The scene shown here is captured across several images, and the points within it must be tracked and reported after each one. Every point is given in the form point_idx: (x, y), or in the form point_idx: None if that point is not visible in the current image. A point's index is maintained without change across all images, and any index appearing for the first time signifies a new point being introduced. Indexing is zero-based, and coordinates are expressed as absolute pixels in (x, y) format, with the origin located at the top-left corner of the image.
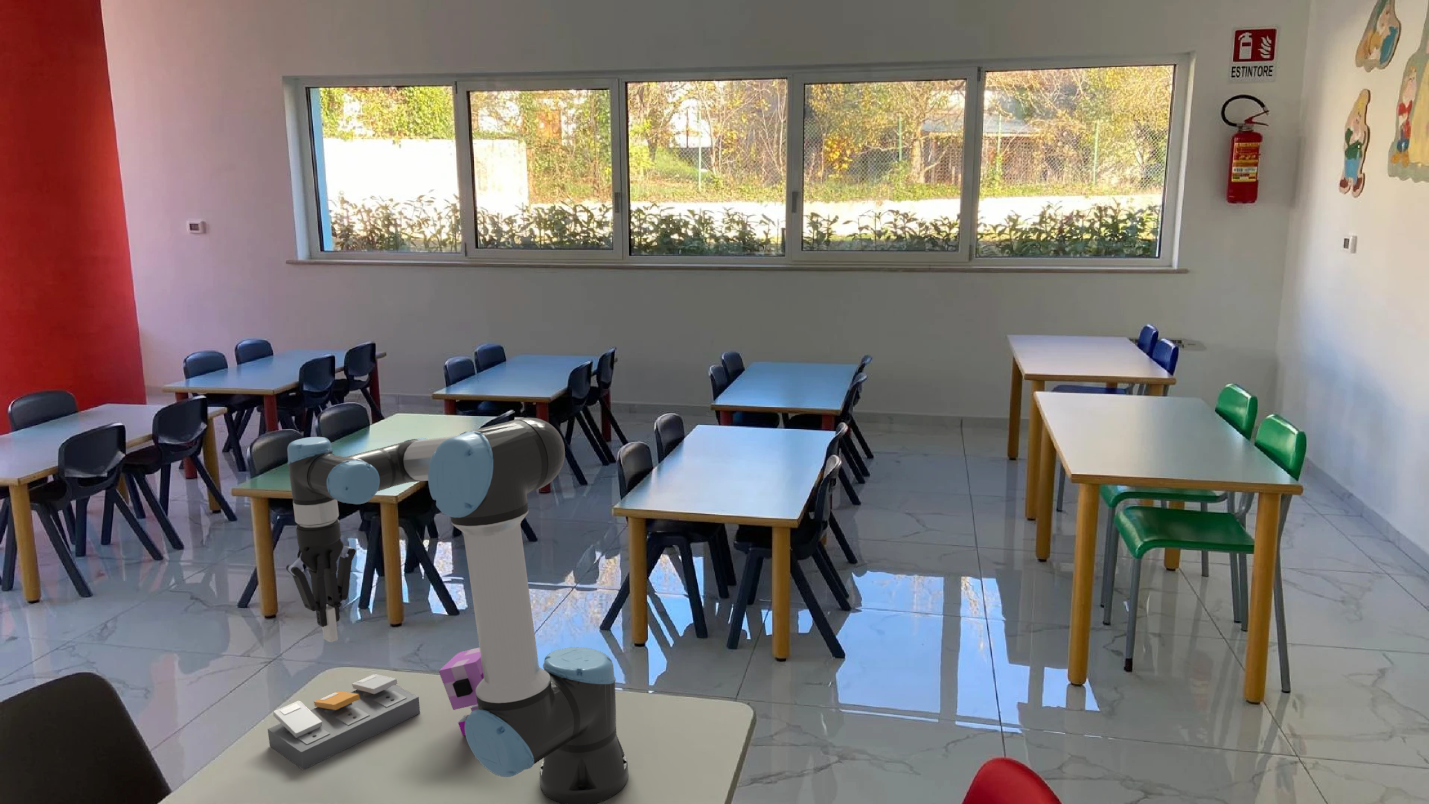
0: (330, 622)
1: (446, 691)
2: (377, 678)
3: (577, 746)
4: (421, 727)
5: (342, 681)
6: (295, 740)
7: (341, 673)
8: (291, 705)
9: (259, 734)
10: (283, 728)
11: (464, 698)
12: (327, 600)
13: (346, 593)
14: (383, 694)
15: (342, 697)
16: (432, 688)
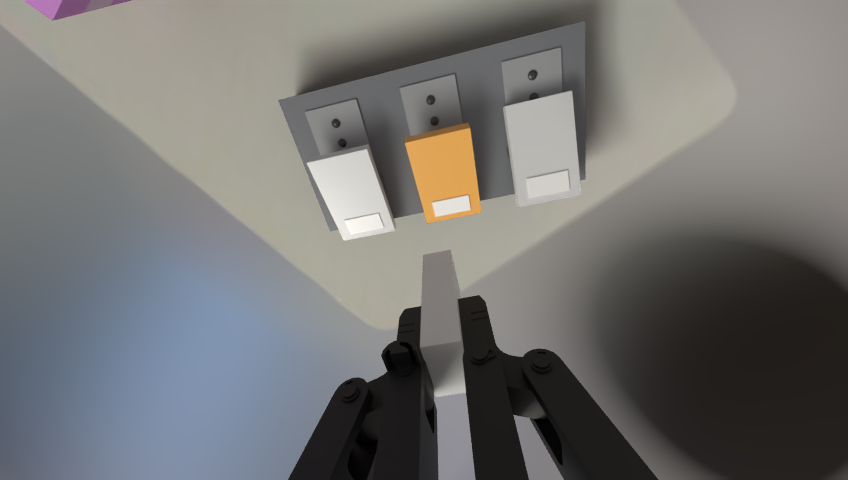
0: (447, 297)
1: None
2: (344, 208)
3: None
4: (304, 30)
5: (391, 298)
6: (568, 89)
7: (385, 321)
8: (541, 195)
9: (563, 220)
10: None
11: None
12: (434, 411)
13: (334, 410)
14: None
15: (437, 164)
16: (253, 180)
